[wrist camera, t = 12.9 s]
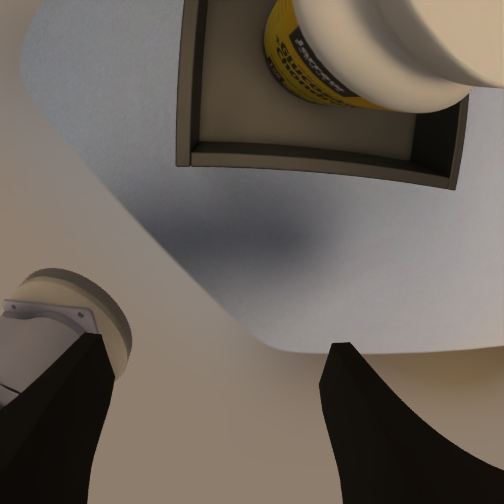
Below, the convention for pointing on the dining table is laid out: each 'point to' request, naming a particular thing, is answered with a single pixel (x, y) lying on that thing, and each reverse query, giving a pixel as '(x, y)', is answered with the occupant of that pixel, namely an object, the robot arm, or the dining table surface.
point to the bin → (293, 112)
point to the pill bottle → (386, 51)
